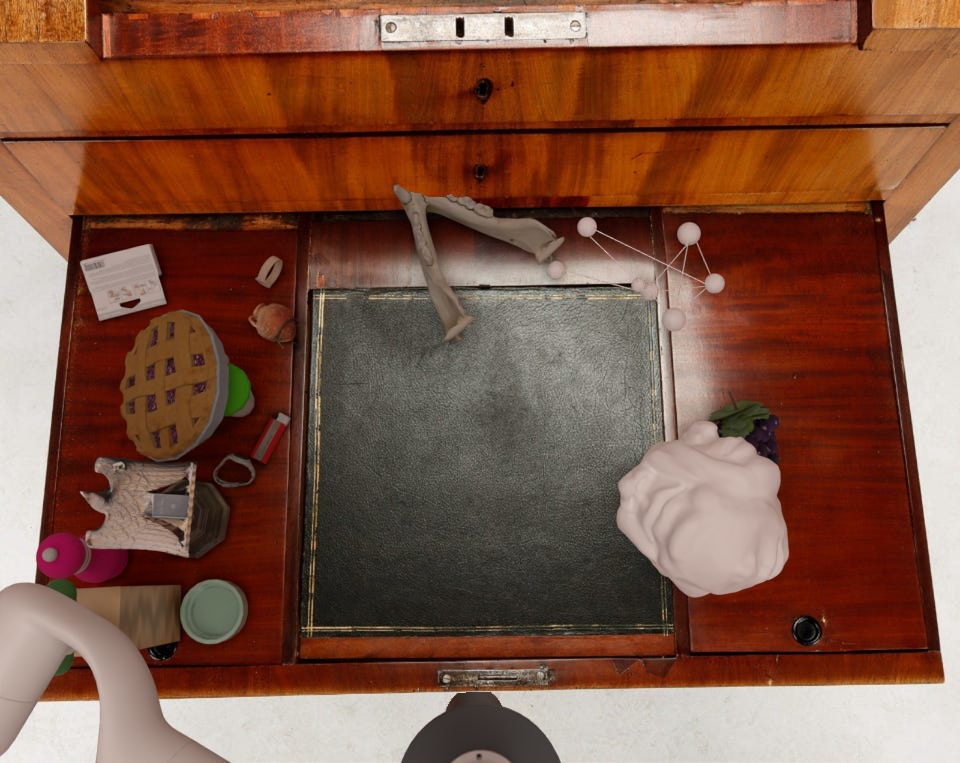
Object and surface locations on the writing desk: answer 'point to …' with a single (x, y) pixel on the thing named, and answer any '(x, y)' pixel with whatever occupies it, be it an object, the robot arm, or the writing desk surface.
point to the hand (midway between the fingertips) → (63, 626)
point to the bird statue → (157, 508)
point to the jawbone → (481, 219)
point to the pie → (174, 386)
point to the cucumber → (71, 592)
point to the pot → (275, 323)
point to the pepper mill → (79, 559)
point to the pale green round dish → (214, 611)
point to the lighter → (270, 438)
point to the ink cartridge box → (124, 281)
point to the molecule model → (649, 290)
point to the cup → (238, 393)
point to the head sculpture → (706, 512)
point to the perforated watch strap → (265, 269)
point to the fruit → (749, 426)
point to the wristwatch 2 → (239, 460)
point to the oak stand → (138, 611)
